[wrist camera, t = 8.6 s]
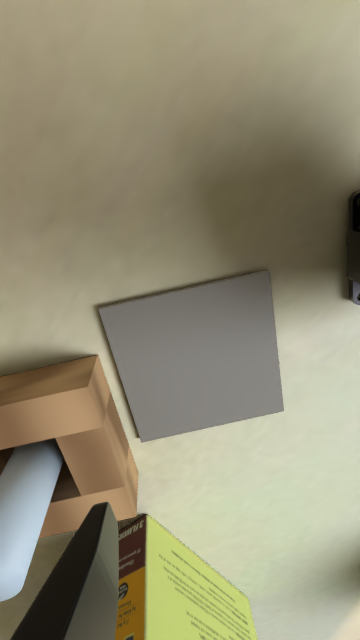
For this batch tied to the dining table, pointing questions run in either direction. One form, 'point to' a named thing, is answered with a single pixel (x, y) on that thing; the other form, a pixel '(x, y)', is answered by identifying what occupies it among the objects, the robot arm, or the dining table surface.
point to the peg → (24, 508)
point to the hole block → (71, 438)
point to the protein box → (174, 591)
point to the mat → (197, 355)
